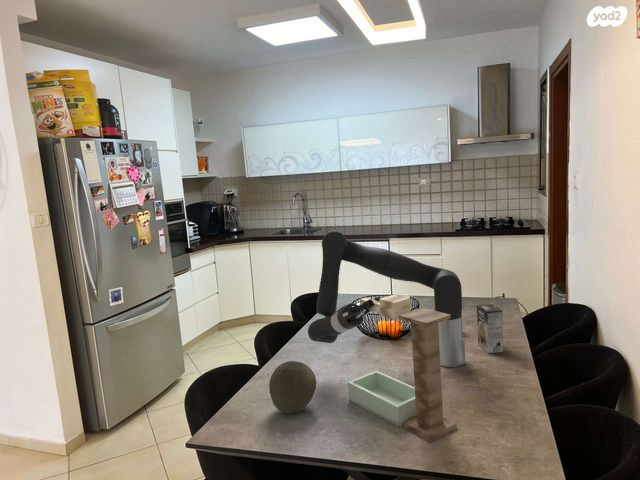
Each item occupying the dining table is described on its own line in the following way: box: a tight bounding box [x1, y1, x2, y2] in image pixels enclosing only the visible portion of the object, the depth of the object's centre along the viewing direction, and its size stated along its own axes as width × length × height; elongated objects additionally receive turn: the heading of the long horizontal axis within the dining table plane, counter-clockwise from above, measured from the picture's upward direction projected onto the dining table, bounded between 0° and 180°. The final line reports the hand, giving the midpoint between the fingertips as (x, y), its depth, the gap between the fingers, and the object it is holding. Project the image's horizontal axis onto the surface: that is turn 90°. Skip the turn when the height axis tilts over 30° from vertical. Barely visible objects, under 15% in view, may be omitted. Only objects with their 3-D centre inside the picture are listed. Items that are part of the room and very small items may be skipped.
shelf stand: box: [398, 307, 458, 443], centre depth 128 cm, size 10×10×32 cm
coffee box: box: [476, 303, 504, 354], centre depth 181 cm, size 9×6×16 cm
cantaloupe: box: [268, 360, 317, 415], centre depth 146 cm, size 14×14×15 cm
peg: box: [359, 294, 411, 321], centre depth 140 cm, size 17×6×5 cm, turn 35°
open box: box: [347, 370, 416, 428], centre depth 144 cm, size 22×12×6 cm, turn 35°
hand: (376, 301), depth 142 cm, fingers closed on peg, 2 cm apart
